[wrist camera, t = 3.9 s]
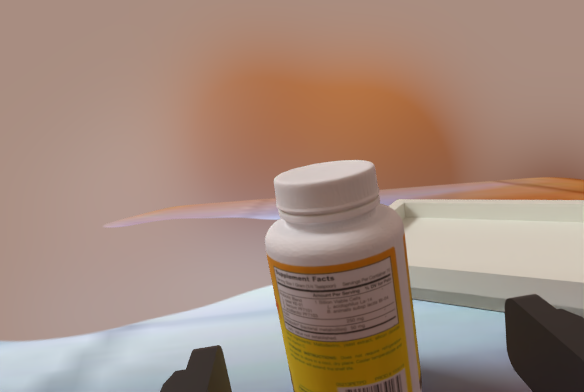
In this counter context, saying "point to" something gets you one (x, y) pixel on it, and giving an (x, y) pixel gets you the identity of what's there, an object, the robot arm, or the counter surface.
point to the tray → (495, 251)
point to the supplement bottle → (342, 282)
